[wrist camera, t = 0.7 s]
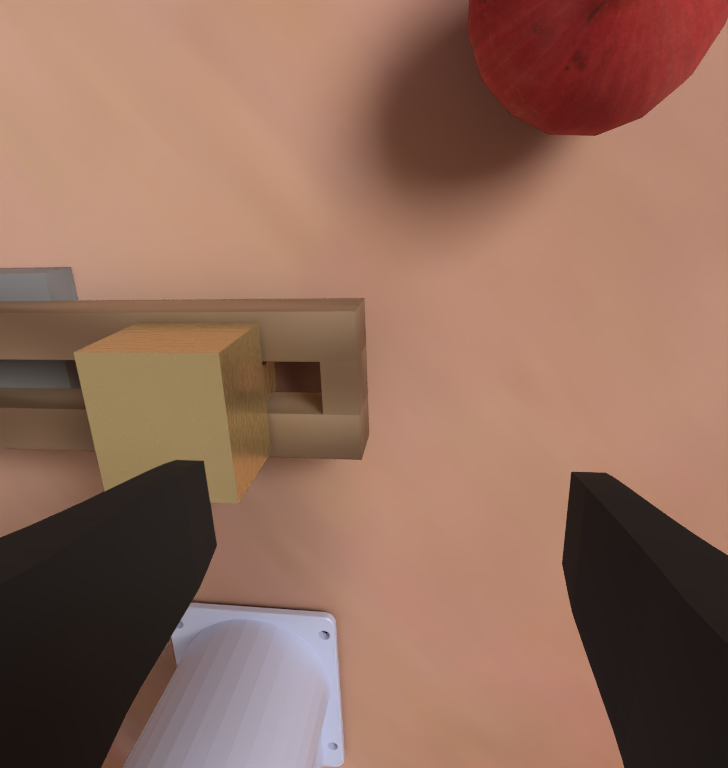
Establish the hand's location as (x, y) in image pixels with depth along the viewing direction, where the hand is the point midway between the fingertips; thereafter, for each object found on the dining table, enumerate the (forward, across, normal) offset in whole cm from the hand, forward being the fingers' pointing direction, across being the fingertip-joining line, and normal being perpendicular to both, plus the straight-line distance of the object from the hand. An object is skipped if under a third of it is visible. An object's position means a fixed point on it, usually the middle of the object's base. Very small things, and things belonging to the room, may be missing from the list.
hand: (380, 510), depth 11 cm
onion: (+11, -5, -10) cm, 15 cm away
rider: (+9, +6, 0) cm, 11 cm away
